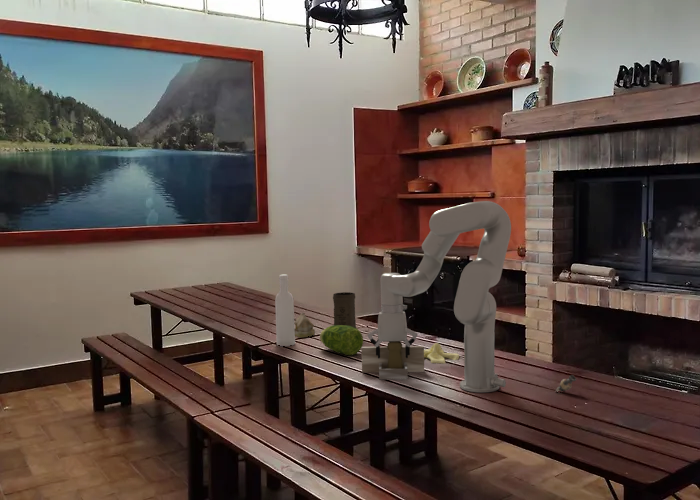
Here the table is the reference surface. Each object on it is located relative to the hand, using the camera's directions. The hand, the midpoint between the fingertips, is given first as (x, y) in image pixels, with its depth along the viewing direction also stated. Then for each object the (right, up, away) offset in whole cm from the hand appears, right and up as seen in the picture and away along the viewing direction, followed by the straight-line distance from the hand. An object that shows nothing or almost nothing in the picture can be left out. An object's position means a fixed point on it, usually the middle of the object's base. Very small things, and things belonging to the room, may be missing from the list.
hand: (392, 357), depth 225 cm
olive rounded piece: (+1, -6, 0) cm, 6 cm away
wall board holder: (0, -6, 0) cm, 6 cm away
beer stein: (-17, -1, +65) cm, 68 cm away
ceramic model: (-36, -2, +71) cm, 80 cm away
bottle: (-42, -3, +51) cm, 66 cm away
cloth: (+17, -5, +23) cm, 29 cm away
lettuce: (-19, -4, +35) cm, 40 cm away
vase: (+53, -7, -24) cm, 58 cm away
